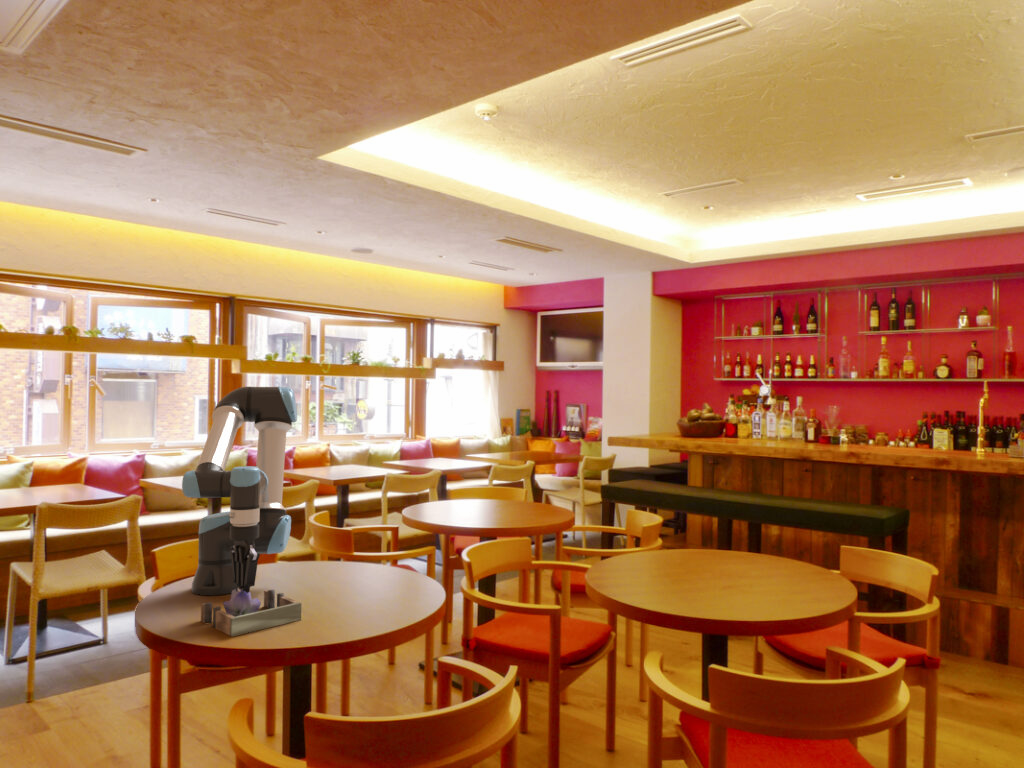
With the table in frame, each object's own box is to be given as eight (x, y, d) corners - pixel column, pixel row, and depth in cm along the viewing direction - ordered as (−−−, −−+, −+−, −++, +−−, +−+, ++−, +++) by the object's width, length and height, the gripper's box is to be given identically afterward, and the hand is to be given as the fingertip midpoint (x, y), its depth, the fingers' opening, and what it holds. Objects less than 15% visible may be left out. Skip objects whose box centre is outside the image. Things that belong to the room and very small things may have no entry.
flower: (260, 602, 182) (249, 578, 189) (227, 620, 179) (217, 594, 186) (271, 624, 187) (259, 600, 195) (239, 642, 184) (228, 617, 191)
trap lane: (199, 621, 187) (200, 602, 187) (268, 605, 202) (269, 587, 202) (231, 637, 175) (231, 616, 175) (302, 619, 189) (302, 600, 189)
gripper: (220, 522, 194) (218, 609, 193) (242, 528, 185) (241, 619, 184) (246, 519, 199) (245, 603, 199) (269, 525, 190) (268, 613, 190)
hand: (243, 611), depth 191 cm, fingers closed
